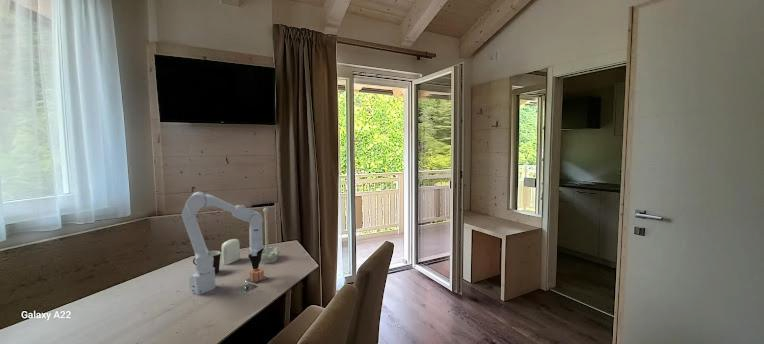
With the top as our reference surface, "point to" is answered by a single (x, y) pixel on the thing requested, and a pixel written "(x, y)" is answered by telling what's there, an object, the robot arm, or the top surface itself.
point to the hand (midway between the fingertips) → (256, 265)
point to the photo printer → (230, 251)
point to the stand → (246, 287)
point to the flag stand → (268, 253)
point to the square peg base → (257, 281)
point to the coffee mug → (216, 260)
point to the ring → (257, 274)
